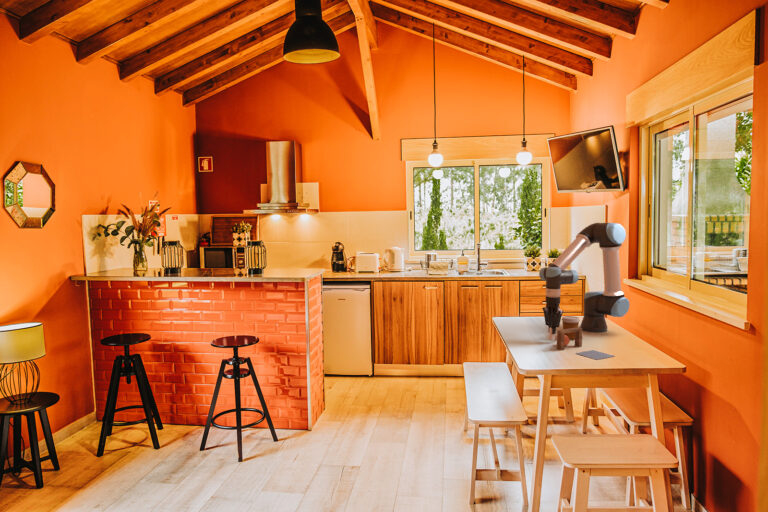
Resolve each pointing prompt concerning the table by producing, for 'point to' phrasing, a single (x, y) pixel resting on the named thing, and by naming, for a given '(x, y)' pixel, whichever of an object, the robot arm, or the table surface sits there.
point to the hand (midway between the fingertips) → (552, 339)
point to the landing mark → (595, 354)
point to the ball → (566, 340)
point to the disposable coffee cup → (570, 325)
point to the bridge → (561, 332)
